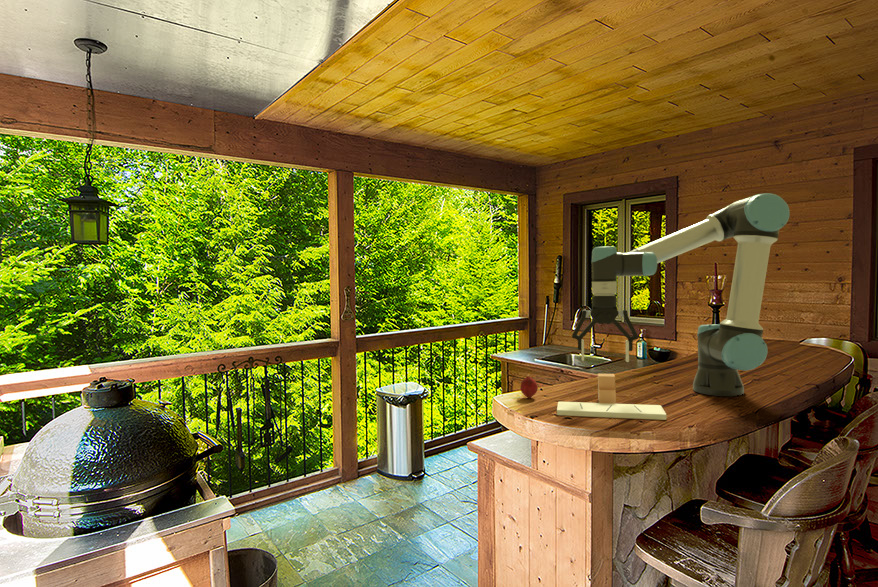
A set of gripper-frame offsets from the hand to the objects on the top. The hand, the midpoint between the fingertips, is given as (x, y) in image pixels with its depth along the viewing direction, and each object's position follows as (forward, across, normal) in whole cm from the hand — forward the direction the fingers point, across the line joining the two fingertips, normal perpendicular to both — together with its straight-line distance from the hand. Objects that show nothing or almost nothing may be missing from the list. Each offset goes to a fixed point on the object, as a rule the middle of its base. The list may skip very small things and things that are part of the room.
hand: (604, 360), depth 157 cm
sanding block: (+14, 0, 0) cm, 14 cm away
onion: (+14, -24, +2) cm, 28 cm away
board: (+14, 0, -12) cm, 18 cm away
